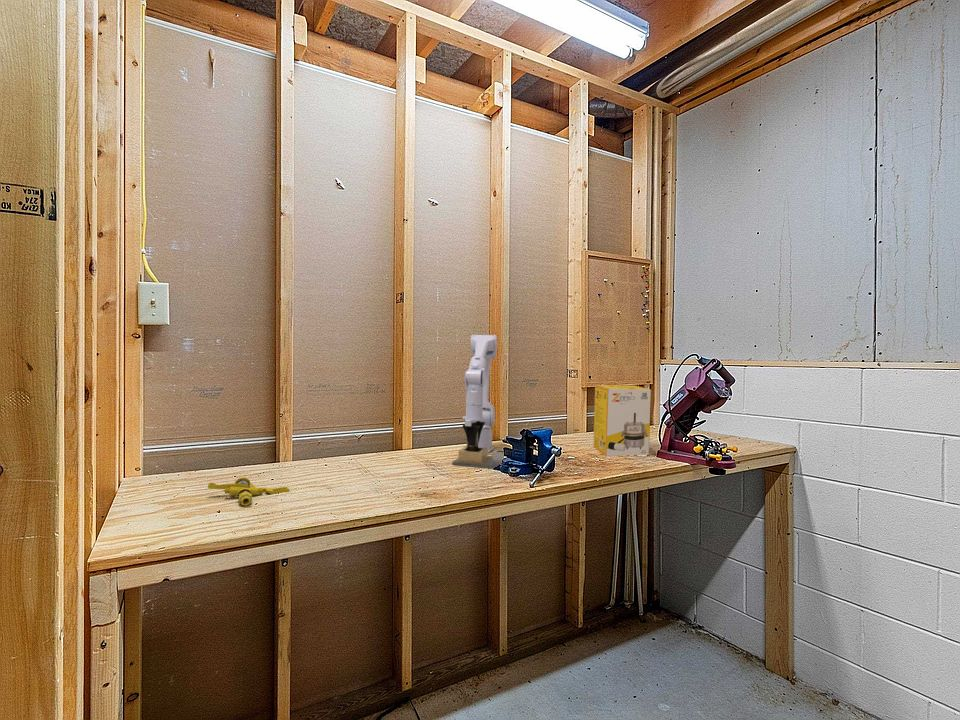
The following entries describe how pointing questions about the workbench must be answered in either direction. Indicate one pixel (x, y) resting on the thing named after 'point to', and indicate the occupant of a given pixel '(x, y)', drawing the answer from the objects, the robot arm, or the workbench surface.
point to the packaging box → (622, 420)
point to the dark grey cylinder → (473, 448)
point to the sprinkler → (245, 490)
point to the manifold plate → (479, 458)
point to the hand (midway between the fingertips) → (473, 444)
